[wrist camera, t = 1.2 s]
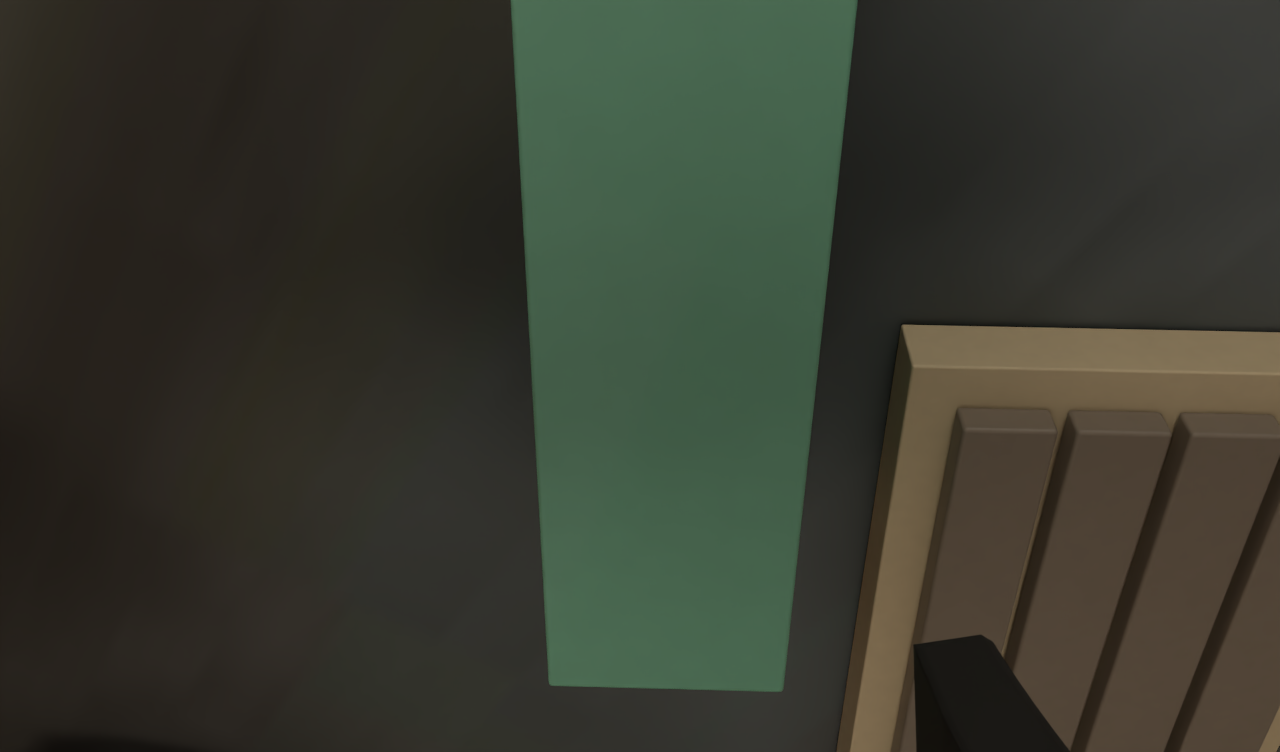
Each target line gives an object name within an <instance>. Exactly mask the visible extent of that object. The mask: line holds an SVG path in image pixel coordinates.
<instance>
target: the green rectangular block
mask: <svg viewBox="0 0 1280 752" xmlns="http://www.w3.org/2000/svg"><path fill="white" fill-rule="evenodd" d="M510 1H511V19H512V36H513V54H514V72H515V90H516V108H517V126H518V144H519V162H520V179H521V197H522V215H523V233H524V251H525V269H526V287H527V304H528V322H529V340H530V358H531V376H532V394H533V412H534V430H535V447H536V465H537V483H538V501H539V519H540V537H541V555H542V573H543V590H544V608H545V626H546V644H547V662H548V680H549V684H550V685H551V686H579V687H616V688H653V689H690V690H727V691H765V692H781V691H782V690H783V688H784V679H785V670H786V661H787V652H788V642H789V633H790V624H791V614H792V605H793V596H794V587H795V577H796V568H797V559H798V550H799V540H800V531H801V522H802V513H803V503H804V494H805V485H806V476H807V466H808V457H809V448H810V439H811V429H812V420H813V411H814V401H815V392H816V383H817V374H818V364H819V355H820V346H821V337H822V327H823V318H824V309H825V300H826V290H827V281H828V272H829V263H830V253H831V244H832V235H833V226H834V216H835V207H836V198H837V188H838V179H839V170H840V161H841V151H842V142H843V133H844V124H845V114H846V105H847V96H848V87H849V77H850V68H851V59H852V50H853V40H854V31H855V22H856V13H857V3H858V0H510Z"/></svg>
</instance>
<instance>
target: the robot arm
mask: <svg viewBox="0 0 1280 752" xmlns="http://www.w3.org/2000/svg"><path fill="white" fill-rule="evenodd" d="M913 651H914V684H915V718H916V752H1070V750H1069V749H1068V748H1067V747H1066V745H1065V744H1064V743H1063V741H1062V740H1061V739H1060V737H1059V736H1058V735H1057V733H1056V732H1055V731H1054V729H1053V728H1052V727H1051V726H1050V724H1049V723H1048V721H1047V720H1046V719H1045V717H1044V716H1043V715H1042V713H1041V712H1040V710H1039V709H1038V708H1037V706H1036V705H1035V704H1034V702H1033V701H1032V699H1031V698H1030V697H1029V695H1028V694H1027V692H1026V691H1025V689H1024V688H1023V687H1022V685H1021V684H1020V682H1019V681H1018V679H1017V678H1016V676H1015V675H1014V673H1013V672H1012V670H1011V669H1010V667H1009V666H1008V664H1007V663H1006V661H1005V660H1004V658H1003V657H1002V655H1001V654H1000V652H999V650H998V649H997V647H996V646H995V644H994V642H993V641H991V640H989V639H988V638H986V637H985V636H983V635H974V636H968V637H961V638H954V639H947V640H941V641H934V642H927V643H920V644H914V645H913Z"/></svg>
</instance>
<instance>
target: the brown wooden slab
mask: <svg viewBox="0 0 1280 752" xmlns="http://www.w3.org/2000/svg"><path fill="white" fill-rule="evenodd" d="M974 635H983V636H985V637H986V638H988V639H989V640H991V641H993V642H994V644H995V646H996V647H997V649H998V650H999V652H1000V654H1001V655H1002V657H1003V658H1004V660H1005V661H1006V663H1007V664H1008V666H1009V667H1010V669H1011V670H1012V672H1013V673H1014V675H1015V676H1016V678H1017V679H1018V681H1019V682H1020V684H1021V685H1022V687H1023V688H1024V689H1025V691H1026V692H1027V694H1028V695H1029V697H1030V698H1031V699H1032V701H1033V702H1034V704H1035V705H1036V706H1037V708H1038V709H1039V710H1040V712H1041V713H1042V715H1043V716H1044V717H1045V719H1046V720H1047V721H1048V723H1049V724H1050V726H1051V727H1052V728H1053V729H1054V731H1055V732H1056V733H1057V735H1058V736H1059V737H1060V739H1061V740H1062V741H1063V743H1064V744H1065V745H1066V747H1067V748H1068V749H1069V750H1070V752H1276V751H1277V749H1278V747H1279V745H1280V332H1238V331H1189V330H1140V329H1091V328H1042V327H993V326H943V325H902V326H901V330H900V336H899V343H898V349H897V356H896V363H895V369H894V376H893V382H892V389H891V395H890V402H889V409H888V415H887V422H886V428H885V435H884V441H883V448H882V455H881V461H880V468H879V474H878V481H877V487H876V494H875V501H874V507H873V514H872V520H871V527H870V533H869V540H868V547H867V553H866V560H865V566H864V573H863V579H862V586H861V593H860V599H859V606H858V612H857V619H856V625H855V632H854V639H853V645H852V652H851V658H850V665H849V671H848V678H847V685H846V691H845V698H844V704H843V711H842V717H841V724H840V731H839V737H838V744H837V750H836V752H916V718H915V684H914V651H913V645H914V644H920V643H927V642H934V641H941V640H947V639H954V638H961V637H968V636H974Z"/></svg>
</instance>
